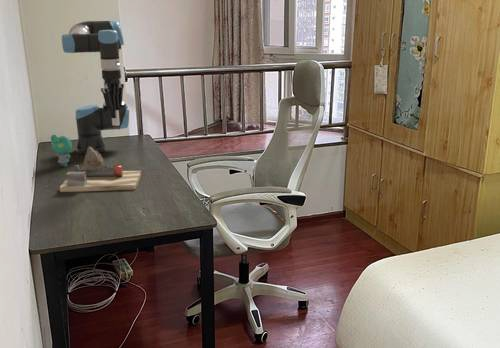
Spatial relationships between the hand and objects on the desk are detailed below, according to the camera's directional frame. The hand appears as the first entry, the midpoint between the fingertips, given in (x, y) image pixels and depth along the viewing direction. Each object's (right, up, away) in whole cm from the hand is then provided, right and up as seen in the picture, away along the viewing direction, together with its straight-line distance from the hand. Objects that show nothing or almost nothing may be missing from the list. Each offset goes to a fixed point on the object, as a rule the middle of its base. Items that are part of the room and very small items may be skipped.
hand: (116, 125), depth 211 cm
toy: (-31, -17, +23) cm, 42 cm away
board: (-5, -25, -1) cm, 25 cm away
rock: (-14, -20, +15) cm, 29 cm away
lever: (-6, -22, +1) cm, 23 cm away
